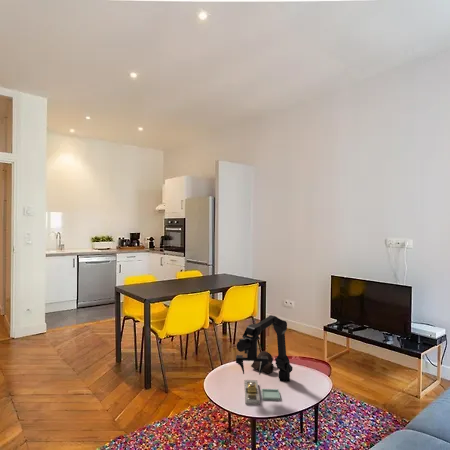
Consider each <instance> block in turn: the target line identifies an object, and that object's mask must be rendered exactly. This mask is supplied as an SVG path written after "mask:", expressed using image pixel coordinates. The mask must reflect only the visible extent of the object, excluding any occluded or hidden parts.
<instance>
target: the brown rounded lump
mask: <svg viewBox="0 0 450 450" xmlns="http://www.w3.org/2000/svg"><path fill="white" fill-rule="evenodd" d="M261 356H267V357H268V364H266V366H264V367H263V369H262V371H261V372H263V373H266V374H271V373H273V371H274V368H275V367H274V363H273V362H274V358H273V356H272V354H271V353H270V352H267V351H264V350H263V351H262V350H261V351H260V352H259V353H258V354H257V358H261ZM250 367H251V368H253V369H255V370H258V371H259V369H260V362H259V361H252V363H251V365H250Z"/></svg>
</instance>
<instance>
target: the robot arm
mask: <svg viewBox="0 0 450 450" xmlns="http://www.w3.org/2000/svg"><path fill="white" fill-rule="evenodd" d="M271 325H272V326H273V330H274V331H275V333H276V341H277V356H276V357H275V358H274V360H275V365H276V368H277V369H278V379H279V382H291V373H292V371H293V366H292V365H291V364H290V359H289V357H288V356H287V349H286V347H287V345H286V332H287V330H288V322H287V321H286V320H283V319H281V318H279V317H277V316H275V315H272V314H270V315H268V316H267V317H266V318H264V319H263V320H260V321H259V322H257V323H250V324H249V325H247V326H246V328H245V330H244V332H243V334H242V338H240V339H239V340H238V341H237V342H236V349H237V352H239V353H241V352H242V353H243V352H244V354H246V357H243V356H244V355H241V354H240V355H239V354H236V356H235V363H236V364H237V365H239V367H240V368H241V370H242V374H243V375H245V367H244V366H245V365H244V362H254V361H259V362H260V369H259V370H258V371H259V372H258V375H261V373H262V372H263V371H262V369H263V367H264V366H266V364H268V357H267V356H261V358H257V357H258V340H260V338H261V337H259V336H260V335H261V333H262V331H264V330H265V329H267V328H269V327H270V326H271Z"/></svg>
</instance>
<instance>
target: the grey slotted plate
mask: <svg viewBox="0 0 450 450" xmlns="http://www.w3.org/2000/svg"><path fill="white" fill-rule="evenodd" d="M249 382H254V383H256V394H248V383H249ZM243 384H244V385H243V386H244V403H245V405H260V403H261V402H260V401H261V399H260V398H261V396H260V391H259V390H260V389H259V384H258V380H256V379H244V381H243Z"/></svg>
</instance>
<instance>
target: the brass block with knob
mask: <svg viewBox="0 0 450 450" xmlns="http://www.w3.org/2000/svg"><path fill="white" fill-rule="evenodd" d="M247 394H257V393H256V383H254V382H249V383H248V392H247Z"/></svg>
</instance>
